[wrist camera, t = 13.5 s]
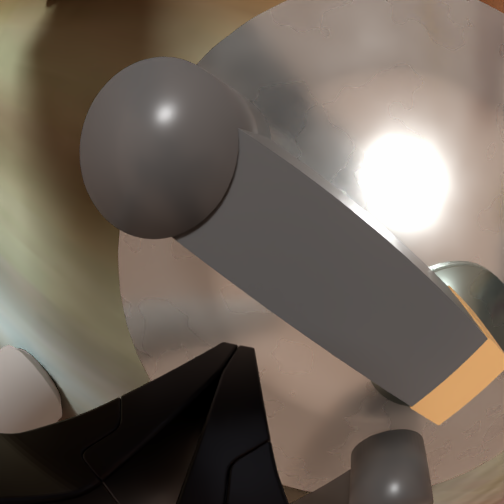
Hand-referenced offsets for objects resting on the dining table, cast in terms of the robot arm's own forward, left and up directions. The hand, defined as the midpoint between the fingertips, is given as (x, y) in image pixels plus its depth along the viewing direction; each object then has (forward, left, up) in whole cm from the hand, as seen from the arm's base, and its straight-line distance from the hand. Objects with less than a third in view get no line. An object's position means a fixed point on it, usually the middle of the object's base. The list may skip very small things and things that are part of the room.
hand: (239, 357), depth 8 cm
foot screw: (-3, +2, -2) cm, 4 cm away
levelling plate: (0, +7, -4) cm, 8 cm away
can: (+12, -18, -4) cm, 22 cm away
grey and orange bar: (+10, +5, -2) cm, 12 cm away
